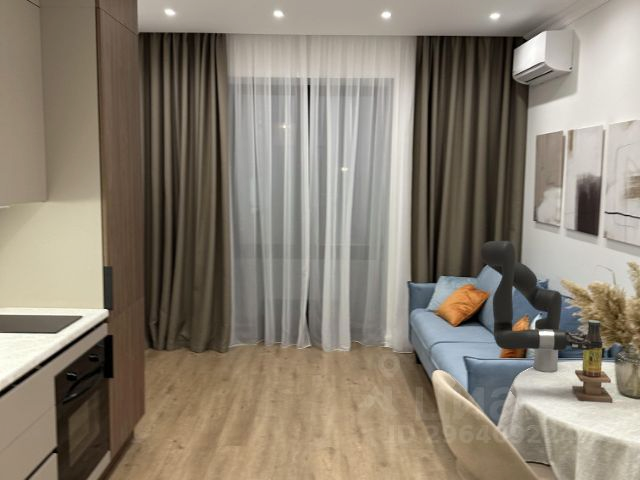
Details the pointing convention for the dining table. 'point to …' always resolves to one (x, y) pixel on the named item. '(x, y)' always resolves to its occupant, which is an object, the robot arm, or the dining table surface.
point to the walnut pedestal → (592, 388)
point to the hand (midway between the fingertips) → (598, 341)
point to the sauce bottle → (592, 351)
